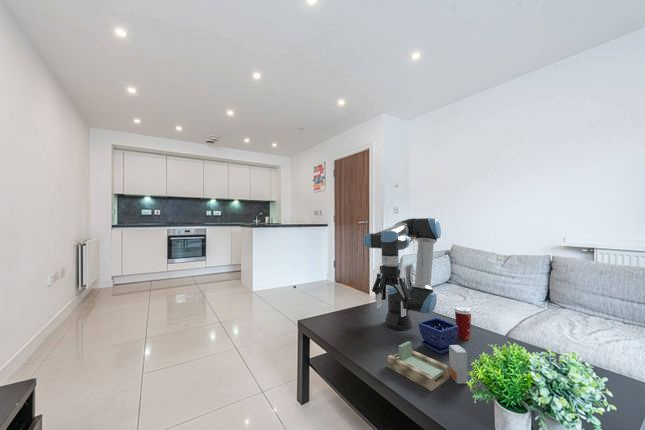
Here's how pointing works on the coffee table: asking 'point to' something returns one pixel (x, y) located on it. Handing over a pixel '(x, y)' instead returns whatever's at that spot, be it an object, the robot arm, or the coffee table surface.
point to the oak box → (417, 374)
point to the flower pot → (438, 334)
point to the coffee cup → (463, 322)
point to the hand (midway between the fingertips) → (390, 311)
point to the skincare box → (458, 363)
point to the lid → (417, 360)
